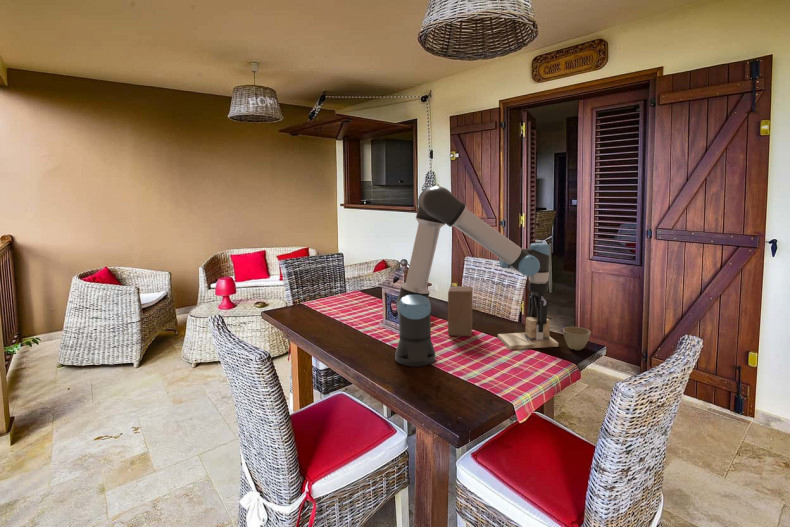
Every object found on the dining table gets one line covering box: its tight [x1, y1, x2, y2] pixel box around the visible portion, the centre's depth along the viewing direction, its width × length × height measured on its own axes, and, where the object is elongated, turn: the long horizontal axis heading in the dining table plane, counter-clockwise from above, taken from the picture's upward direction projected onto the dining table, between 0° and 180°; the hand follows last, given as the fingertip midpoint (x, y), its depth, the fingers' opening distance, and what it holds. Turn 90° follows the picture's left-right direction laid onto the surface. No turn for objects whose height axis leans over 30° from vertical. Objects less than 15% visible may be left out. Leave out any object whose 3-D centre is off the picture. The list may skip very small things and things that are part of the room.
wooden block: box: [447, 285, 473, 337], centre depth 193 cm, size 10×10×20 cm
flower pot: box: [562, 326, 592, 351], centre depth 174 cm, size 10×10×7 cm
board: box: [497, 332, 559, 350], centre depth 182 cm, size 20×14×2 cm
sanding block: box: [524, 316, 551, 340], centre depth 181 cm, size 8×5×8 cm, turn 96°
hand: (536, 336), depth 182 cm, fingers closed on sanding block, 5 cm apart
